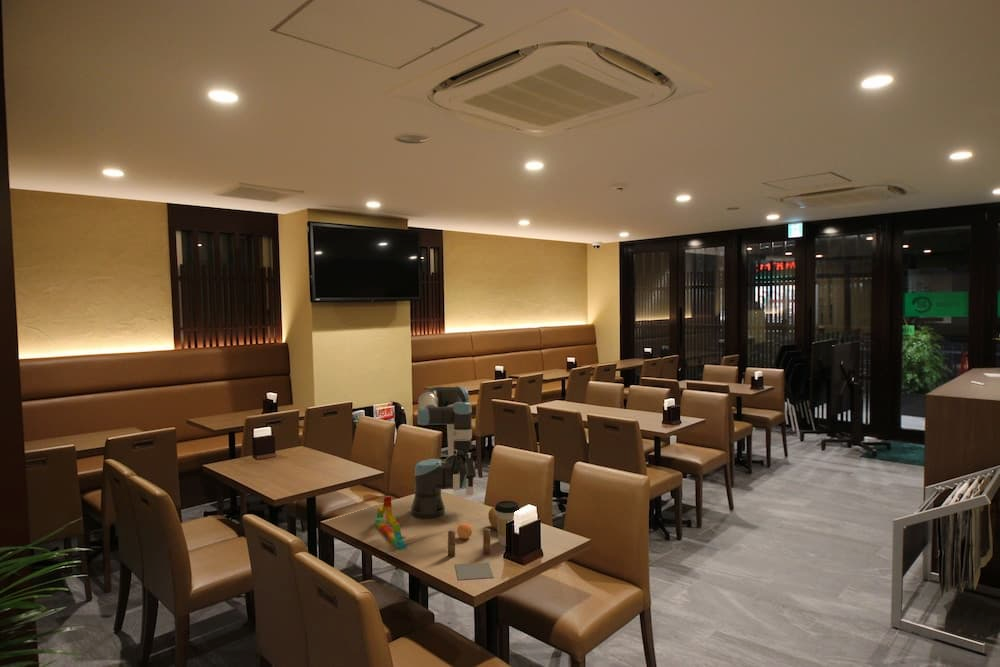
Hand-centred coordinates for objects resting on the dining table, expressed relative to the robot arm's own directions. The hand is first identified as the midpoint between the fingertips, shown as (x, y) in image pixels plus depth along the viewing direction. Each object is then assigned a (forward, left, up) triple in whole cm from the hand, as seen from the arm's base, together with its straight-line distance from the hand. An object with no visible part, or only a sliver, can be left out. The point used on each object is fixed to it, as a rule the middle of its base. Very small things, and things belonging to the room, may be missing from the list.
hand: (462, 492), depth 240 cm
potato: (0, +16, -16) cm, 23 cm away
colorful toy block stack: (0, -29, -16) cm, 34 cm away
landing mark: (+38, 0, -16) cm, 41 cm away
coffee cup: (+14, +16, -16) cm, 27 cm away
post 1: (+24, -7, -16) cm, 30 cm away
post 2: (+24, +7, -16) cm, 30 cm away
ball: (+8, 0, -13) cm, 15 cm away
